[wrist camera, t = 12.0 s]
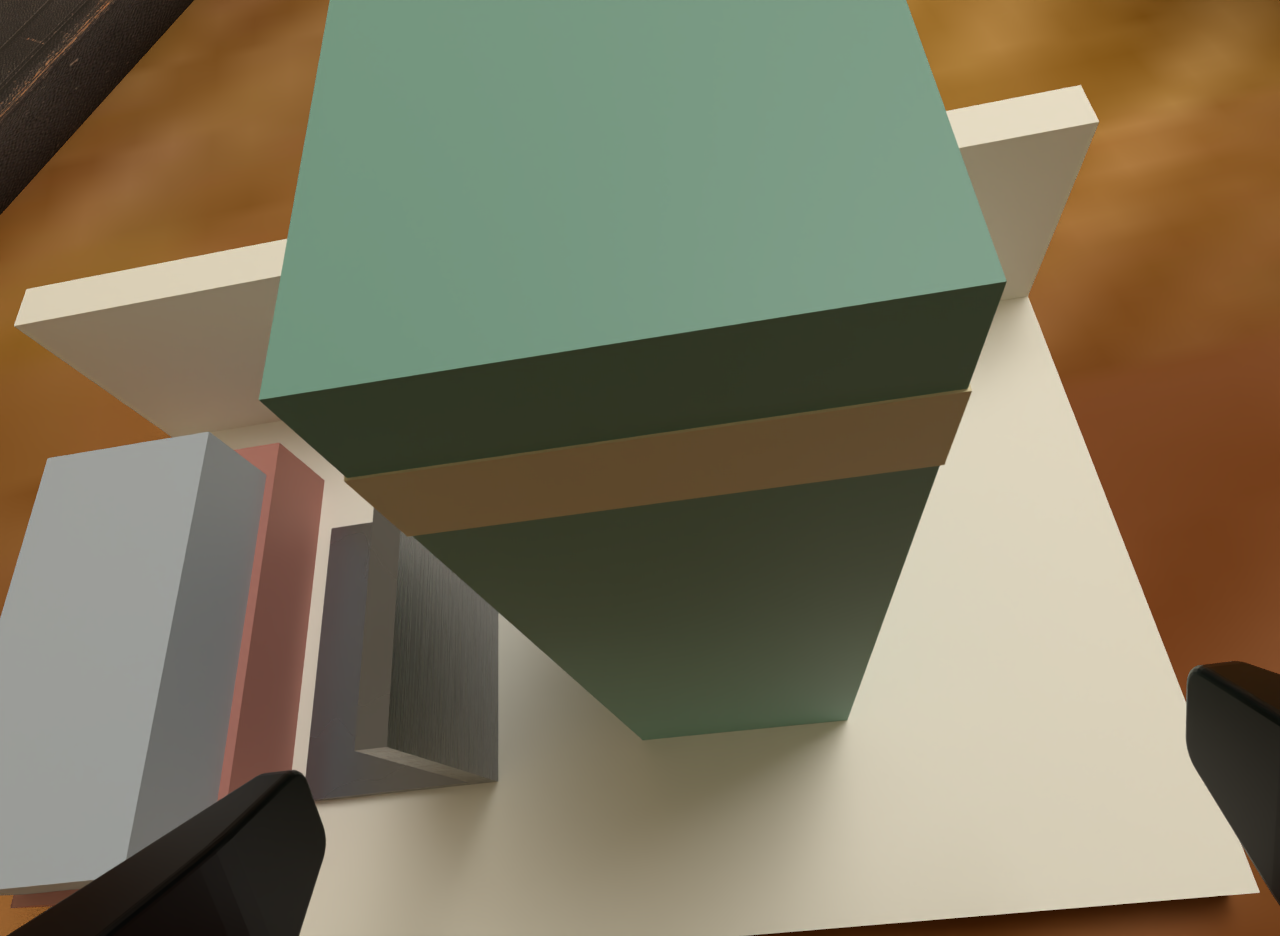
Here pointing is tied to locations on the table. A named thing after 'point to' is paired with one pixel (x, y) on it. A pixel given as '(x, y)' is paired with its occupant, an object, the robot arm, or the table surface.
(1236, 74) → the table surface
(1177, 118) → the table surface
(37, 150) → the hardcover book
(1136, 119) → the table surface
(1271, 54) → the table surface
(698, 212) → the green box
